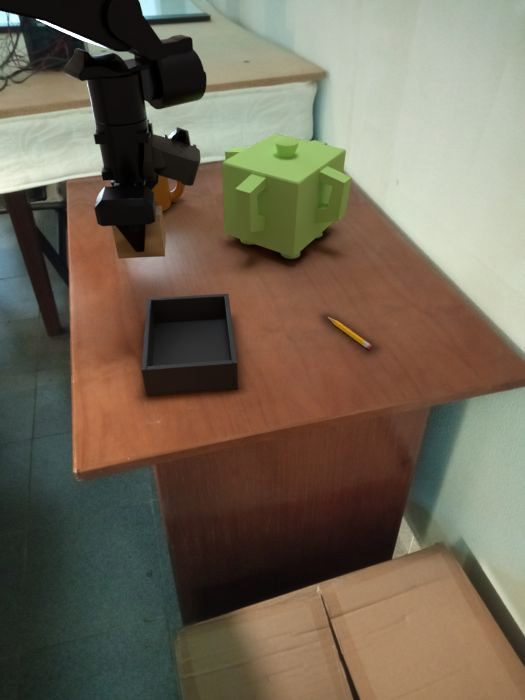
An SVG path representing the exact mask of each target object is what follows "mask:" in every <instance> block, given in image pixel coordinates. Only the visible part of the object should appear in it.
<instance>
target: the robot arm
mask: <svg viewBox="0 0 525 700" xmlns="http://www.w3.org/2000/svg"><path fill="white" fill-rule="evenodd" d="M141 5H142V4H141V2H140V0H0V12H3V13H7V14H11V15H16V16H21V17H23V18H27V19H28V18H29V19H33V20H36V21H39V22H41V23H43V24H45V25H47V26H49V27H51V28H52V29H53V28H54V29H56V30H58V31H60V32H62V33H65V34H67V35H70V36H71V37H73V38H76V39H78V40H80V41H83V42H85V43H89V44H92V45H96V46H98V47H101V48H105V49H107V50H110V51H113V52H108V53H103V54H97V55H92V54H91V53H89V51H87V50H84V49H81V48H75V49H74V52H73V55H72V56H71V59H69V60H68V62H67V63H66V64H65V66H64V67H63V70H62V71H63V73H64V75H66V76H68V77H71V78H73V79H76V80H78V81H80V82H86V84H87V90H88V95H89V100H90V105H91V110H92V114H93V115H92V116H93V120H94V125H95V130H94V133H93V140H94V144H95V145H99V151H100V156H101V160H102V167H101V171H100V174H101V178H102V181H110V185H111V186H104V187H103V188H102V189H101V191H100V192H99V193H98V194H97V197H96V201H95V204H94V208H93V210H94V214H95V218H96V224H97V225H99V226H101V227H112V226H116V227H117V228H118V230H119V231H120V232H121V233H122V235H123V236H124V237H125V238H126V240H127V241H128V242H129V244H130V245H131V246H132V248H133V249H134V250H135V251H136V252H144V250H145V230H146V224H151V223H153V222H155V218H156V206H157V202H155V195H154V192H153V191H152V189H153V188H154V187H155V186H156V185H157V184H158V182H159V175H160V176H163V177H166V178H168V179H169V180H172V181H176V182H177V181H179V182H181V183H182V184H184V185H185V186H188V187H192V186H194V185H195V181H196V177H197V174H198V170H199V167H200V165H201V164H200V163H201V151H200V149H199V148H198V147H197V144H194V143H193V144H192V142H191V138H190V132H189V130H187V129H185V128H182V127H178V126H177V127H176V128H175V129H174V130H173V131H172V132H171V133H170V134H169V136H168V134H164V135H163V136H162V135H158V134H154V128H153V123H152V122H151V123H150V119H148V117H147V116H148V115H147V108H146V103H148V104H149V106H151V107H152V108H153V109H154V110H163V109H167V108H172V107H175V106H180V105H185V104H189V103H192V102H197V101H199V100H201V99H203V97H204V96H205V93H206V90H207V84H208V83H207V82H208V81H207V80H208V79H207V78H208V77H207V72H206V71H205V69H204V65H203V63H202V59H201V58H200V56H199V54H198V53H197V52H196V50H195V49H194V44H193V43H194V42H193V38H192V37H191V36H187V35H184V34H175V35H171V36H170V37H168V38H164V39H160V37H159V36H158V34H157V33H156V31H155V30H154V29H153V27H152V26H151V24H150V23H149V22H148V20H147V19H146V17H145V16H144V14H143V9H142V6H141ZM114 52H117V53H128V54H130V55H133V56H134V57H133V58H128V59H123V58H122V57H121V56H120V55H119V54H117V53H114Z"/></svg>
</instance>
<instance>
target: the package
mask: <svg viewBox="0 0 525 700" xmlns="http://www.w3.org/2000/svg"><path fill="white" fill-rule="evenodd" d="M164 221H165V220H164V214H163V212H162V206H156V218H155V222H153V223H151V224H146V230H145V250H144V252H136V251H135V250H134V249H133V248H132V246H131V245H130V244H129V242H128V241H127V240H126V238H125V237H124V236H123V235H122V233H121V232H120V231H119V230H118V228H117V227H116V226H111V229H112V234H113V240H114V244H115V248H116V254H117V258H118V259H137V258H138V259H141V258H156V257H157V258H158V257H166V243H167V238H166V230H165V222H164Z"/></svg>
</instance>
